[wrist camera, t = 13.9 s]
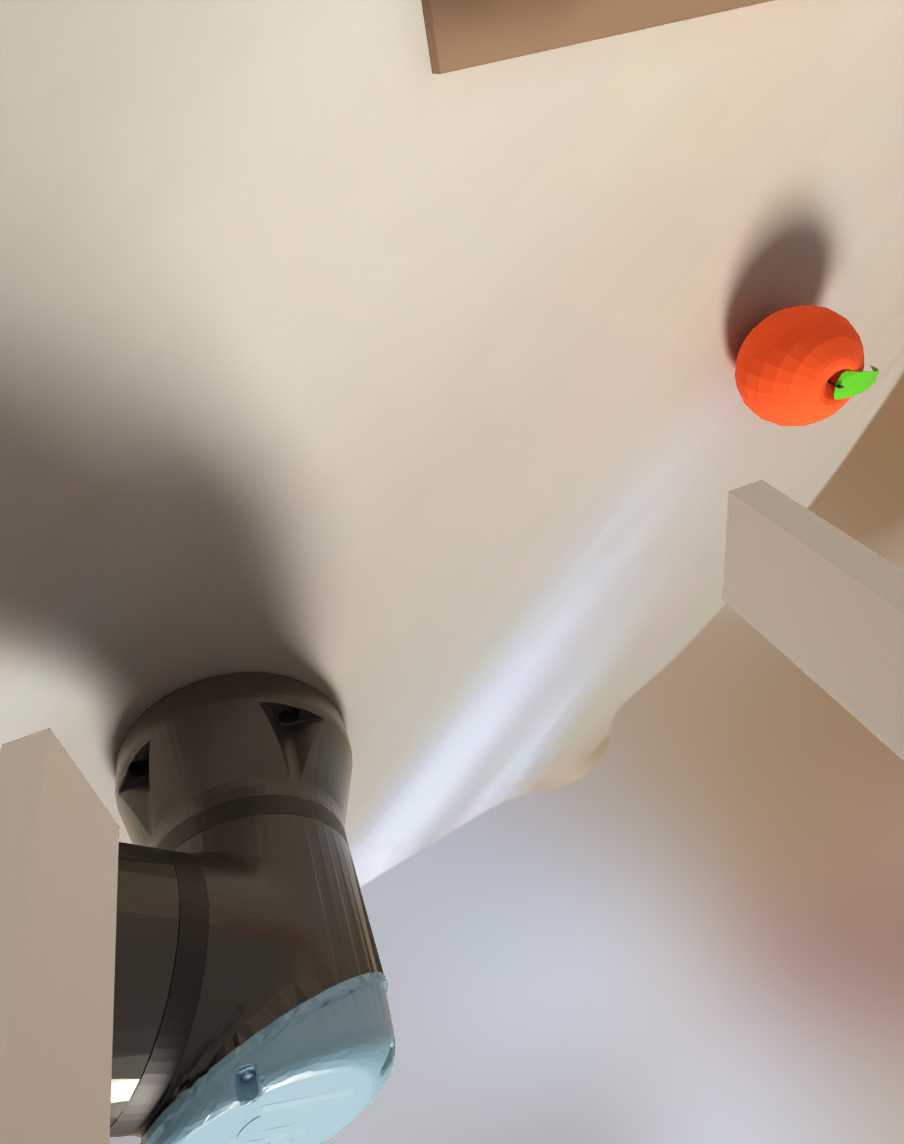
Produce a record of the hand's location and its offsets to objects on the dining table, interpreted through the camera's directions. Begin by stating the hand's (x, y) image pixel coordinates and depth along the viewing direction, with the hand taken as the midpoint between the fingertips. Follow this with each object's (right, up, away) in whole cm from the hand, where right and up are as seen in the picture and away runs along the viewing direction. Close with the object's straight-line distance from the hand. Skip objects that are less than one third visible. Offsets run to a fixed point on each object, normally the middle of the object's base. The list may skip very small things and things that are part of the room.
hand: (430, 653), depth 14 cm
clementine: (+20, +16, +33) cm, 42 cm away
